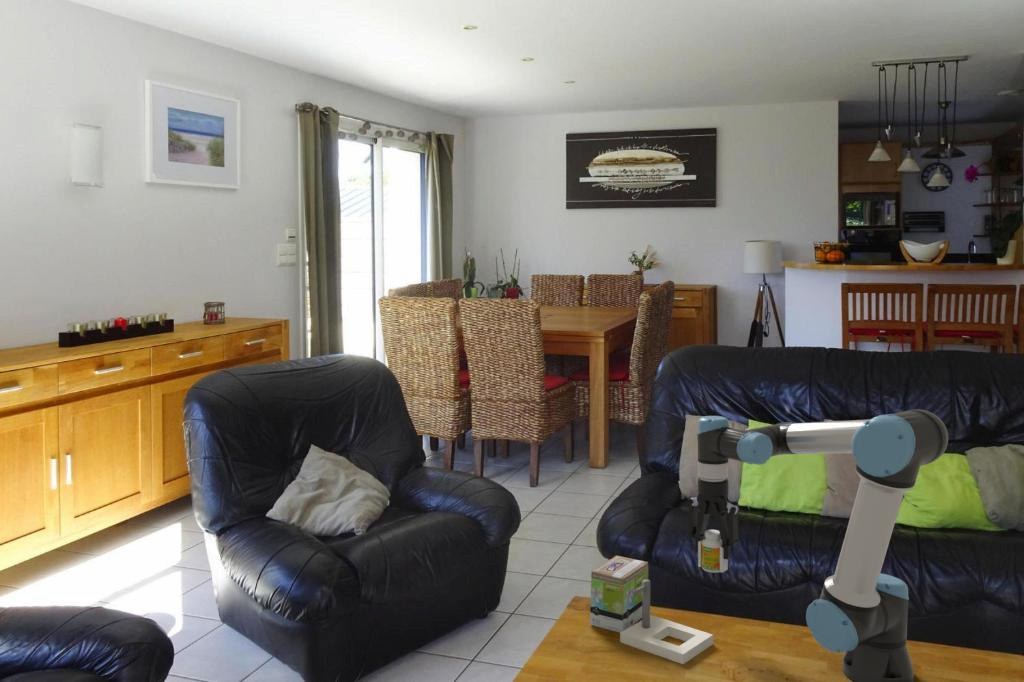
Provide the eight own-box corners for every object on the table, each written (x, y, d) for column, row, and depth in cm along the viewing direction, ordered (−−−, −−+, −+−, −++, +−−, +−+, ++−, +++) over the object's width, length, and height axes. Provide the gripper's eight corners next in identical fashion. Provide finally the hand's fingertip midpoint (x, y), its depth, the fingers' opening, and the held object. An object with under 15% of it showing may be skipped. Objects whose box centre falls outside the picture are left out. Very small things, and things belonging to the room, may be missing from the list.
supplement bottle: (700, 571, 222) (700, 534, 221) (703, 564, 227) (703, 527, 226) (722, 574, 220) (722, 536, 219) (725, 567, 225) (725, 529, 224)
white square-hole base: (712, 644, 218) (713, 587, 217) (683, 664, 208) (683, 605, 206) (651, 624, 230) (651, 570, 229) (620, 642, 220) (620, 586, 218)
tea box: (624, 634, 224) (624, 578, 223) (589, 625, 230) (589, 570, 228) (648, 613, 237) (649, 560, 235) (614, 605, 242) (615, 553, 241)
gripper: (753, 480, 218) (753, 572, 220) (688, 469, 230) (688, 556, 232) (739, 486, 212) (738, 580, 214) (673, 475, 224) (673, 564, 227)
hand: (712, 567), depth 223 cm, fingers closed on supplement bottle, 5 cm apart
